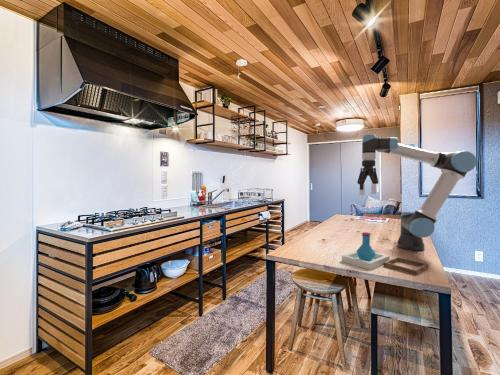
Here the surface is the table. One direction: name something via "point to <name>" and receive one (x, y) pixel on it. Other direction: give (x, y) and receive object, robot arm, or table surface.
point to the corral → (390, 264)
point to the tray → (376, 261)
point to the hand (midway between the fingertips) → (367, 194)
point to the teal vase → (366, 248)
